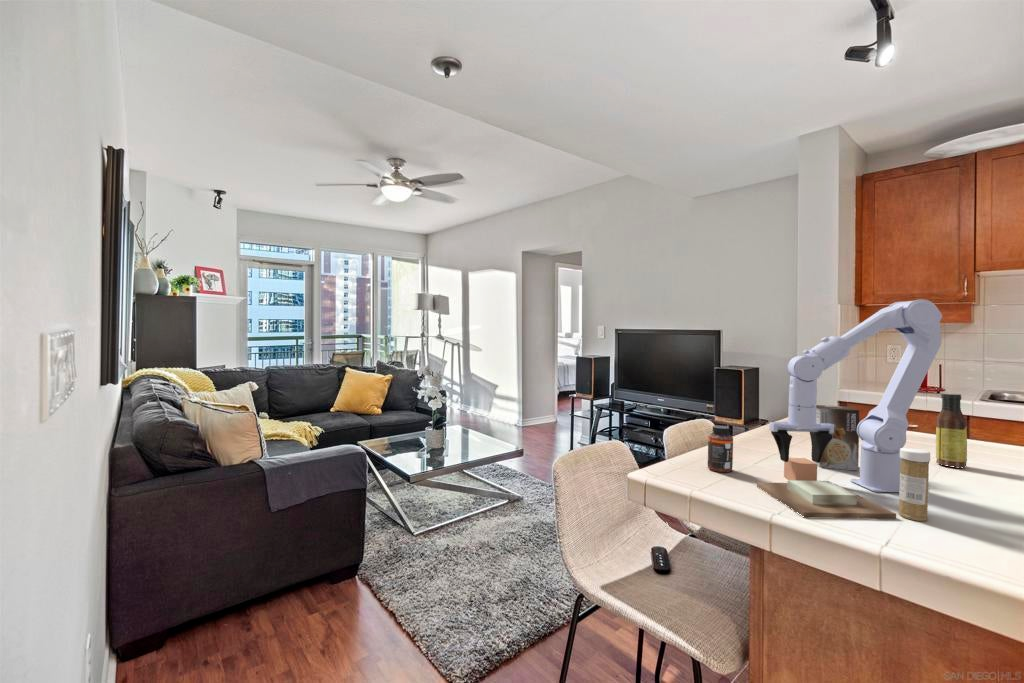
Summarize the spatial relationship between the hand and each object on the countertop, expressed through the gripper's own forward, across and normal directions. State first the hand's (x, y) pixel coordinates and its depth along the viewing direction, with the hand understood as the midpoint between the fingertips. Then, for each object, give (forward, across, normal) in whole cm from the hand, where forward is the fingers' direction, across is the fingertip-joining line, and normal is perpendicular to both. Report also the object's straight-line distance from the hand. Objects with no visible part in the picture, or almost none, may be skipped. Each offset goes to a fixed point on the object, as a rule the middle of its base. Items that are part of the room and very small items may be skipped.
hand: (800, 461), depth 116 cm
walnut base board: (+5, +4, +14) cm, 15 cm away
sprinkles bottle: (+5, -9, +22) cm, 24 cm away
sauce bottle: (+5, -50, -15) cm, 53 cm away
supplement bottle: (+5, +16, -8) cm, 19 cm away
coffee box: (+5, -17, -13) cm, 22 cm away
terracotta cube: (+5, 0, 0) cm, 5 cm away
